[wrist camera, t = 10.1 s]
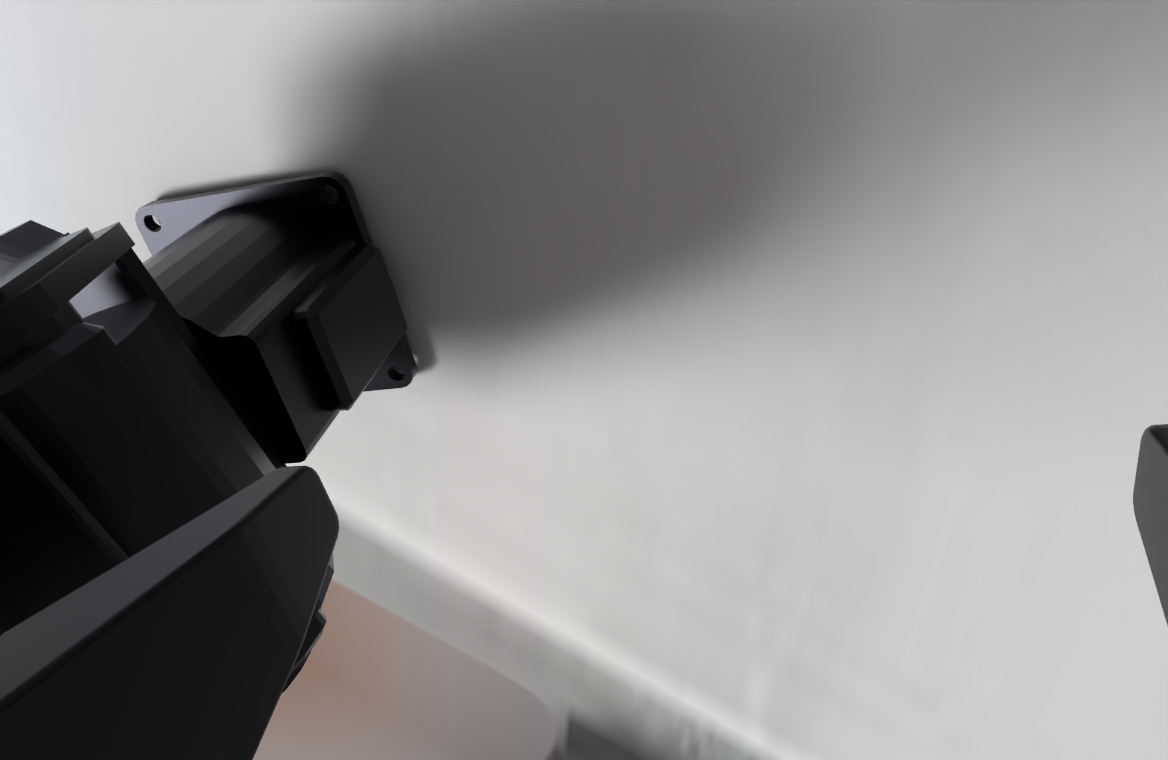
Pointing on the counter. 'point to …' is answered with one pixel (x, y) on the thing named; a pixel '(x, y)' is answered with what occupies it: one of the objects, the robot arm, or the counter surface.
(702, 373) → the counter surface
